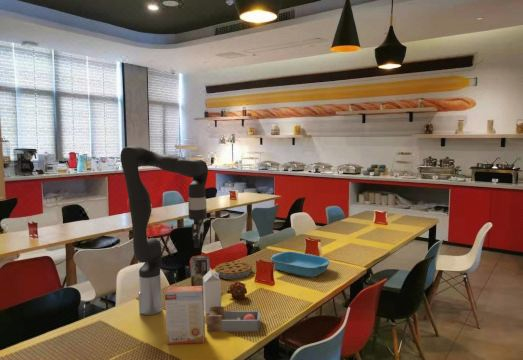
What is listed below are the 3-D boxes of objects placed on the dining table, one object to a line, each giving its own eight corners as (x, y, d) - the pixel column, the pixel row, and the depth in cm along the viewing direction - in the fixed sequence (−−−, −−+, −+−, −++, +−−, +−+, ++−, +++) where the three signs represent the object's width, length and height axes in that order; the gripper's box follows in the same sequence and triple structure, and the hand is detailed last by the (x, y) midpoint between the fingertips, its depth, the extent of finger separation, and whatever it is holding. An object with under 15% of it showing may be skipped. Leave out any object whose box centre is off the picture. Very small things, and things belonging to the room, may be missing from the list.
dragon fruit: (243, 305, 189) (230, 300, 199) (254, 291, 193) (241, 287, 203) (233, 293, 186) (220, 289, 196) (244, 279, 190) (231, 276, 200)
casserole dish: (263, 269, 236) (263, 257, 235) (284, 260, 254) (284, 249, 253) (317, 282, 214) (317, 269, 213) (336, 271, 231) (336, 259, 230)
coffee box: (211, 285, 211) (210, 256, 209) (208, 290, 204) (207, 259, 203) (194, 285, 212) (193, 255, 210) (190, 289, 205) (189, 259, 203)
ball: (240, 324, 162) (250, 331, 162) (248, 314, 161) (257, 321, 162) (241, 318, 167) (251, 325, 167) (248, 309, 166) (258, 316, 167)
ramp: (207, 331, 160) (206, 316, 160) (210, 321, 169) (209, 306, 169) (223, 331, 160) (223, 316, 160) (226, 320, 169) (225, 306, 169)
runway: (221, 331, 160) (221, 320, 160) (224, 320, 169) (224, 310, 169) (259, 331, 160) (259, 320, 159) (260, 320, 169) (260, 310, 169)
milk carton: (205, 314, 176) (204, 273, 173) (203, 308, 182) (202, 268, 180) (221, 312, 177) (220, 271, 175) (219, 306, 184) (217, 266, 182)
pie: (209, 271, 234) (209, 262, 234) (243, 265, 244) (243, 257, 243) (221, 283, 215) (221, 274, 214) (258, 276, 224) (258, 267, 223)
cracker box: (205, 335, 157) (203, 285, 155) (203, 343, 151) (202, 290, 149) (169, 336, 156) (167, 285, 154) (166, 344, 150) (164, 291, 148)
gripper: (203, 210, 160) (204, 249, 161) (208, 204, 174) (209, 240, 175) (185, 210, 160) (186, 249, 161) (191, 204, 174) (192, 240, 176)
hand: (198, 244), depth 168 cm, fingers open, 8 cm apart
